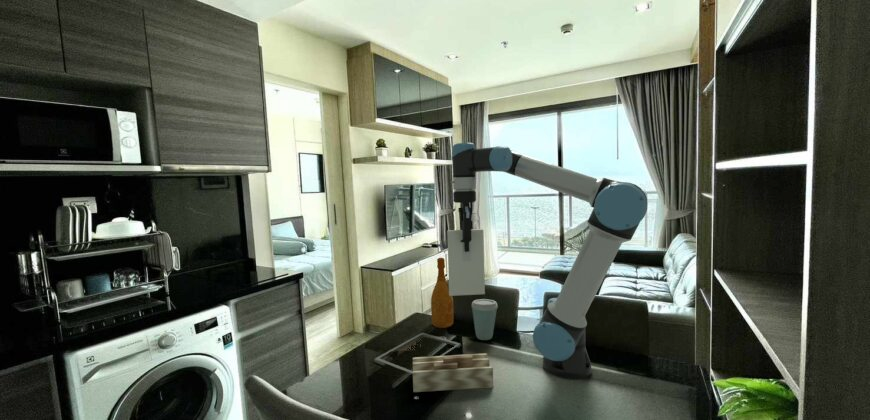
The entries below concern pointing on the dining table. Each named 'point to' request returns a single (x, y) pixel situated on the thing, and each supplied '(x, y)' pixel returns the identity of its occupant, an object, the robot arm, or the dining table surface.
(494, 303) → the disposable coffee cup
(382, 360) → the picture frame
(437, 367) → the offcut front
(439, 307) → the wine bottle
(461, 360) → the offcut near sheet
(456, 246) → the tall sheet
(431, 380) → the rack
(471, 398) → the dining table surface
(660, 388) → the dining table surface
